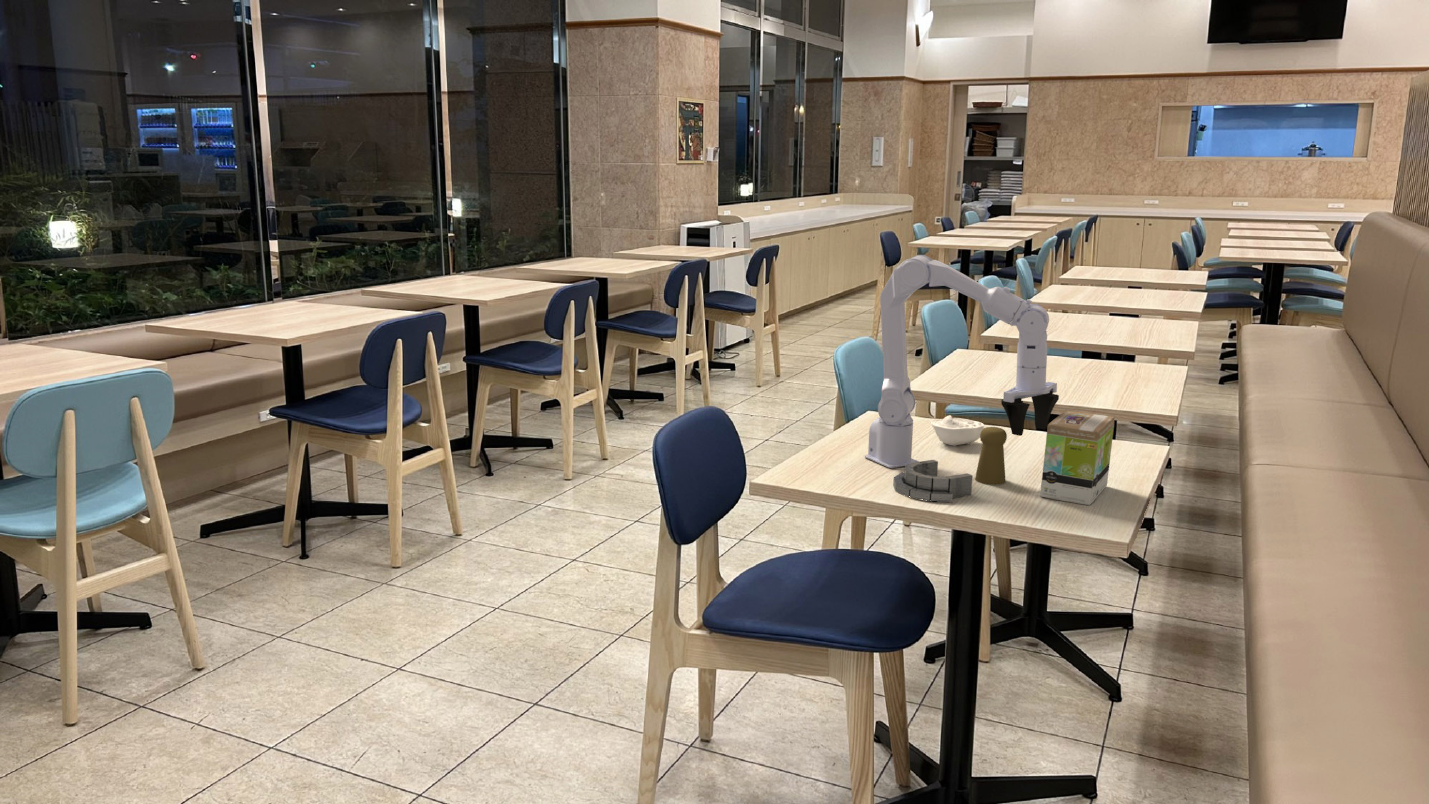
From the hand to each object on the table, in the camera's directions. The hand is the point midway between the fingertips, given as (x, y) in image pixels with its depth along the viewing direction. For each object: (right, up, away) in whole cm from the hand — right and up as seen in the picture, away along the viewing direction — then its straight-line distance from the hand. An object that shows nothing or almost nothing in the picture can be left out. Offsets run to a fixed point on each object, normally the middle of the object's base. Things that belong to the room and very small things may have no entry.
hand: (1029, 431), depth 213 cm
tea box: (+7, -12, -7) cm, 15 cm away
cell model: (-9, -4, +27) cm, 28 cm away
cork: (-8, -10, 0) cm, 13 cm away
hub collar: (-22, -11, -7) cm, 26 cm away
